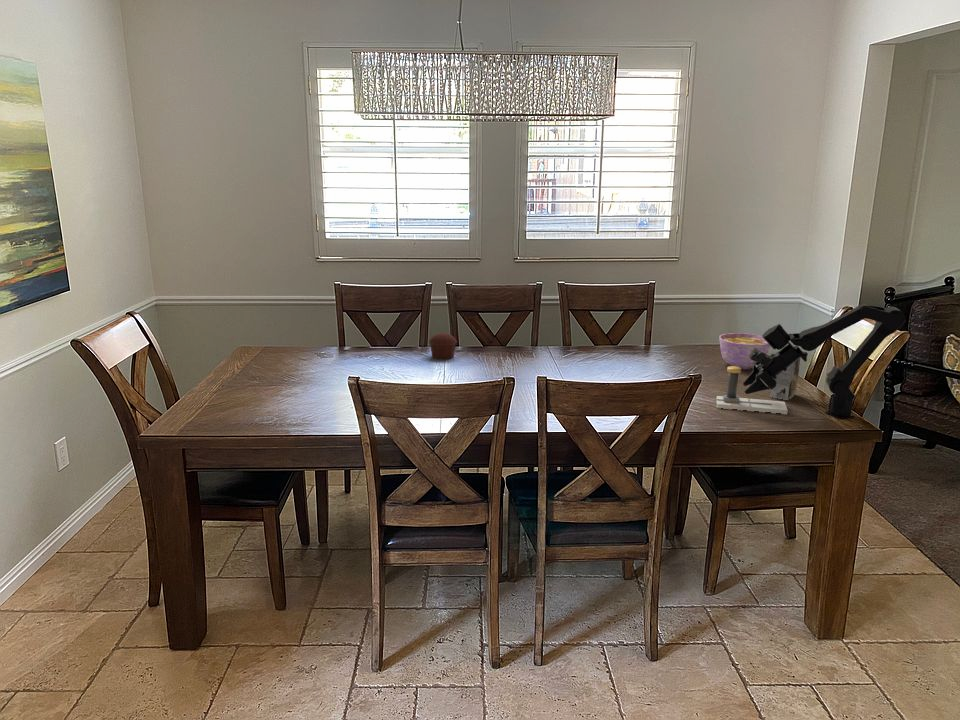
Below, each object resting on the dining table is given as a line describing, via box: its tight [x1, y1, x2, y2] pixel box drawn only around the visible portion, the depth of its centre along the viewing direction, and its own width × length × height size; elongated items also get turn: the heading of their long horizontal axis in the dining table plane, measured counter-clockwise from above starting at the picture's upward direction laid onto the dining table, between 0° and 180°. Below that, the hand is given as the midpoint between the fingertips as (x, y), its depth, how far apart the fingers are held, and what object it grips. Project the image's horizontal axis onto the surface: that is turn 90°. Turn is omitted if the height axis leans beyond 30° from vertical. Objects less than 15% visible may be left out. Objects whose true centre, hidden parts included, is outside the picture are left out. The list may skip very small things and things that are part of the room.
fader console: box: [715, 395, 788, 415], centre depth 247 cm, size 22×9×2 cm, turn 74°
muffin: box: [428, 332, 458, 361], centre depth 306 cm, size 12×11×10 cm
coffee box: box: [769, 351, 801, 401], centre depth 257 cm, size 9×6×16 cm
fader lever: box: [722, 365, 742, 403], centre depth 247 cm, size 5×4×11 cm
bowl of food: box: [718, 332, 771, 370], centre depth 294 cm, size 20×20×12 cm
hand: (744, 388), depth 246 cm, fingers open, 9 cm apart
